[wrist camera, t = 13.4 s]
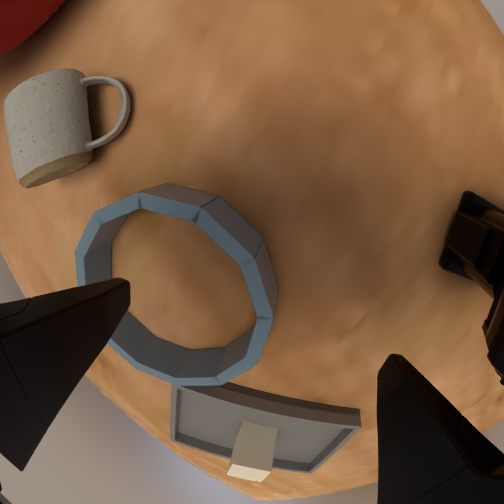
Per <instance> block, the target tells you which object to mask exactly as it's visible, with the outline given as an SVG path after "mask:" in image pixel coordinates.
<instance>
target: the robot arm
mask: <svg viewBox="0 0 504 504" xmlns="http://www.w3.org/2000/svg"><path fill="white" fill-rule="evenodd" d="M469 195H470V199H469V200H468V196H469ZM445 261H447V262H446V264H444V262H445ZM439 265H440V266H441V267H442V268H443V269H444V270H447V271H450V272H453V273H455V274H458V275H461V276H463V277H466V278H469V279H471V280H474V281H475V282H476V283H477V284H478V285H479V286H480V287H481V288H483V289H484V290H485V291H486V292H487V293H488V294H489V295H490V296H491V297H492V298H493V299H494V301H493V303H492V306H491V309H490V312H489V314H488V317H487V319H486V320H485V321H484V324H483V326H482V328H483V332H484V335H485V338H486V343H487V347H488V350H489V352H488V354H487V357H488V360H489V361H490V363H491V364H492V366H493V367H494V369H495V371H496V372H497V374H498V375H499V376H500V377H501V380H500V383H501V384H502V385H504V211H502V210H501V209H499V208H497V207H496V206H494V205H493V204H491V203H490V202H488V201H486V200H485V199H483V198H481V197H480V196H478V195H476V194H474V193H473V192H470V191H466V192H465V193H464V195H463V198H462V201H461V204H460V207H459V210H458V213H457V215H456V218H455V221H454V224H453V227H452V229H451V232H450V235H449V237H448V240H447V244H446V246H445V249H444V251H443V254H442V256H441V259H440V261H439ZM129 306H130V282H129V281H128V280H125V279H122V278H114V279H110V280H105V281H101V282H96V283H92V284H88V285H83V286H79V287H74V288H70V289H66V290H61V291H57V292H53V293H48V294H44V295H40V296H35V297H32V298H26V299H23V300H18V301H13V302H8V303H1V304H0V453H1V454H2V455H3V456H4V457H5V458H6V459H7V460H9V461H10V462H11V463H12V464H13V465H14V466H15V467H17V468H18V469H19V470H20V471H23V470H24V468H25V466H26V465H27V463H28V461H29V459H30V458H31V456H32V454H33V453H34V451H35V449H36V448H37V446H38V444H39V443H40V441H41V439H42V438H43V436H44V435H45V433H46V431H47V430H48V428H49V426H50V425H51V423H52V422H53V420H54V418H55V417H56V415H57V414H58V412H59V411H60V409H61V408H62V406H63V405H64V403H65V402H66V400H67V399H68V397H69V396H70V394H71V393H72V391H73V390H74V388H75V387H76V385H77V384H78V383H79V381H80V380H81V378H82V377H83V376H84V374H85V373H86V371H87V370H88V369H89V367H90V366H91V364H92V363H93V362H94V360H95V359H96V358H97V356H98V355H99V353H100V352H101V351H102V349H103V348H104V347H105V345H106V344H107V343H108V341H109V340H110V338H111V337H112V335H113V333H114V332H115V330H116V328H117V326H118V325H119V323H120V321H121V320H122V318H123V316H124V315H125V313H126V311H127V310H128V308H129ZM377 429H378V501H377V504H504V454H503V453H502V452H501V451H500V450H499V449H498V448H497V447H496V446H494V445H493V444H492V443H491V442H490V441H489V440H488V439H487V438H486V437H484V436H483V435H482V434H481V433H480V432H479V431H478V430H477V429H476V428H475V427H474V426H473V425H472V424H471V423H470V422H469V421H468V420H467V419H466V418H465V417H464V416H462V414H461V413H460V412H459V411H458V410H457V409H456V408H455V407H454V406H453V405H452V404H451V403H450V402H449V401H448V400H447V399H446V398H445V397H444V396H443V395H442V394H441V393H440V392H439V391H438V390H437V389H436V388H435V387H434V386H433V385H432V384H431V383H430V382H429V381H428V380H427V379H426V378H425V377H424V376H423V375H422V374H421V373H420V372H419V371H418V370H417V369H416V368H415V367H414V366H413V365H412V364H411V363H409V362H408V361H407V360H406V359H405V358H404V357H403V356H402V355H399V354H390V355H389V356H388V358H387V359H386V361H385V362H384V364H383V365H382V367H381V368H380V370H379V372H378V377H377ZM1 490H2V487H1V483H0V492H1ZM0 504H12V503H11V502H9V501H8V500H7V499H6V498H5V497H4V496H3V495H2V494H1V493H0Z"/></svg>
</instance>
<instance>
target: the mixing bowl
mask: <svg viewBox="0 0 504 504" xmlns="http://www.w3.org/2000/svg"><path fill="white" fill-rule="evenodd" d="M65 1H66V0H0V56H1V55H3V54H5V53H6V52H8V51H10V50H12V49H14V48H15V47H17V46H18V45H20V44H21V43H22V42H23V41H25V40H26V39H27V38H28V37H30V36H31V35H32V34H33V33H34V32H35V31H36V30H37V29H39V28H40V27H41V26H42V25H44V24H45V23H46V22H47V21H48V20H49V19H50V18H51V17H52V16H53V15H54V14H55V12H56V11H57V10H58V9H59V8H60V7H61V5H62V4H63V3H64V2H65Z"/></svg>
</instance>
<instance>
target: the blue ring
mask: <svg viewBox="0 0 504 504" xmlns="http://www.w3.org/2000/svg"><path fill="white" fill-rule="evenodd" d="M140 208H142V209H146V210H149V211H153V212H157V213H161V214H165V215H168V216H172V217H176V218H180V219H184V220H187V221H191V222H194V223H195V224H196V225H197V226H198V227H199V228H200V229H202V230H203V231H204V232H205V233H206V234H207V235H208V236H209V237H210V238H211V239H212V240H213V241H214V242H215V243H216V244H217V245H218V246H220V247H221V248H222V249H223V250H224V251H225V252H226V253H227V254H228V255H229V256H230V257H231V258H232V259H233V260H234V261H236V262H237V263H238V264H239V265H240V267H241V270H242V273H243V276H244V279H245V282H246V285H247V288H248V291H249V294H250V296H251V299H252V302H253V305H254V308H255V311H256V314H257V318H256V322H255V325H254V326H253V327H252V328H251V329H250V330H248V331H247V332H246V333H244V334H243V335H241V336H240V337H239V338H237V339H236V340H235V341H233V342H232V343H231V344H229V345H228V346H227V347H219V348H208V349H196V350H190V349H187V348H184V347H181V346H178V345H176V344H173V343H170V342H168V341H165V340H162V339H160V338H157V337H155V336H154V335H153V334H152V333H151V332H150V331H149V330H147V329H146V328H145V327H144V326H143V325H142V324H141V323H140V322H139V321H138V320H136V319H135V318H134V317H133V316H132V315H131V314H130V313H129V312H128V311H126V313H125V315H124V316H123V318H122V320H121V321H120V323H119V325H118V326H117V328H116V330H115V332H114V333H113V335H112V337H111V338H110V340H109V341H108V344H109V345H110V346H111V347H112V348H113V349H114V350H115V351H116V352H118V353H119V354H120V355H121V356H122V357H123V358H124V359H125V360H127V361H128V362H129V363H130V364H131V365H132V366H134V367H135V368H136V369H138V370H141V371H143V372H145V373H148V374H150V375H152V376H155V377H157V378H160V379H162V380H165V381H167V382H170V383H172V384H175V385H178V386H210V385H223V384H225V383H226V382H228V381H230V380H231V379H233V378H235V377H236V376H238V375H240V374H241V373H243V372H245V371H246V370H248V369H250V368H251V367H253V366H254V365H256V364H257V363H258V362H259V359H260V356H261V353H262V351H263V348H264V345H265V342H266V339H267V337H268V334H269V331H270V328H271V325H272V322H273V319H274V314H275V308H276V302H277V296H278V285H277V282H276V278H275V275H274V272H273V268H272V265H271V261H270V258H269V254H268V251H267V248H266V244H265V241H264V238H263V236H261V235H260V234H259V233H258V232H257V231H256V230H255V229H254V228H253V227H252V226H251V225H250V224H249V223H248V222H247V221H246V220H245V219H244V218H243V217H242V216H241V215H240V214H239V213H237V212H236V211H235V210H234V209H233V208H232V207H231V206H230V205H229V204H228V203H227V202H226V201H225V200H224V199H223V198H222V197H221V196H220V197H219V196H218V195H214V194H210V193H206V192H202V191H198V190H193V189H189V188H185V187H180V186H176V185H171V184H163V185H160V186H157V187H153V188H150V189H147V190H144V191H140V192H138V193H135V194H133V195H131V196H128V197H126V198H124V199H121V200H119V201H117V202H115V203H113V204H110V205H108V206H106V207H104V208H102V209H100V210H98V211H96V212H94V213H93V215H92V217H91V219H90V221H89V223H88V225H87V227H86V229H85V231H84V233H83V235H82V238H81V240H80V242H79V244H78V246H77V248H76V252H75V258H76V272H77V283H78V287H79V286H83V285H88V284H92V283H96V282H101V281H105V280H110V279H112V240H113V239H114V237H115V235H116V234H117V232H118V230H119V229H120V227H121V226H122V224H123V222H124V221H125V219H126V218H127V216H128V215H129V213H130V212H132V211H134V210H137V209H140Z"/></svg>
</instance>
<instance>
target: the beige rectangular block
mask: <svg viewBox="0 0 504 504" xmlns="http://www.w3.org/2000/svg"><path fill="white" fill-rule="evenodd" d="M276 436H277V428H272V427H268V426H263V425H259V424H255V423H251V422H247V421H243V423H242V425H241V427H240V430H239V432H238V434H237V437H236V441H235V444H234V448H233V452H232V456H231V459H230V463H229V467H228V470H227V474H226V475H230V476H234V477H238V478H243V479H248V480H253V481H258V482H262V481H263V480H264V479H265V478H266V476H267V475H268V474H269V473H270V472H271V469H272V462H273V456H274V449H275V443H276Z"/></svg>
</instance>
